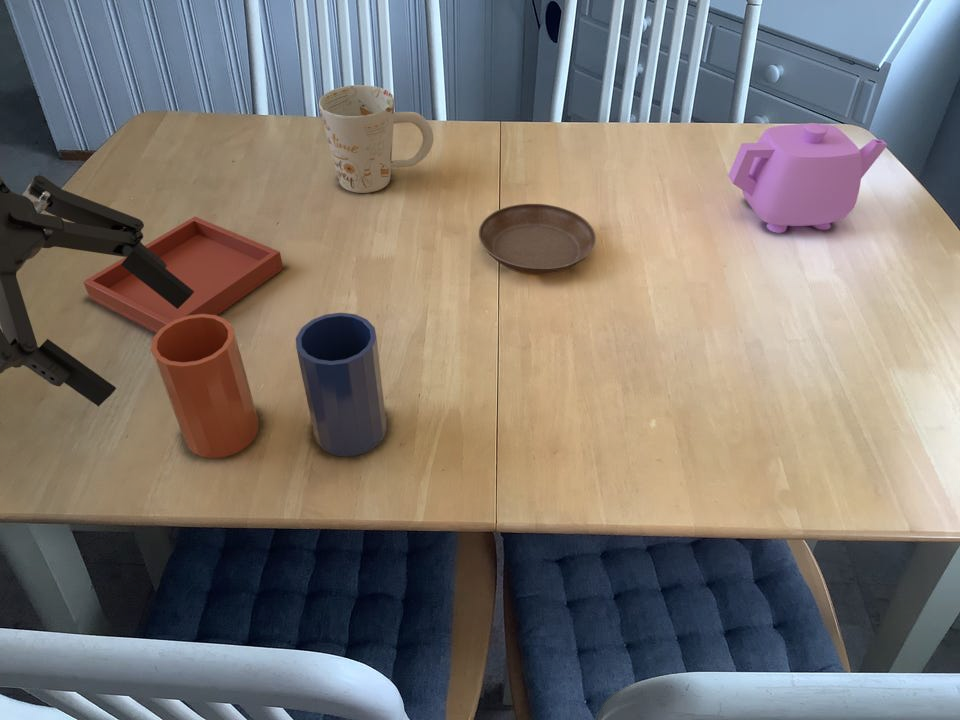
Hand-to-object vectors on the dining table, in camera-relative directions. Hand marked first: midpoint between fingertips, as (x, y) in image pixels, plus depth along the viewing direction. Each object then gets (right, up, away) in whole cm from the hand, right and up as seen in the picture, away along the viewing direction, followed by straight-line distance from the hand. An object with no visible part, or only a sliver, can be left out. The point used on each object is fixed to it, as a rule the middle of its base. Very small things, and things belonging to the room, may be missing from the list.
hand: (149, 345), depth 71 cm
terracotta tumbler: (+5, -8, +6) cm, 11 cm away
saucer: (+37, +13, +29) cm, 49 cm away
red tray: (-5, +8, +24) cm, 26 cm away
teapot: (+73, +19, +36) cm, 83 cm away
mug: (+16, +25, +43) cm, 52 cm away
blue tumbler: (+17, -8, +6) cm, 20 cm away
